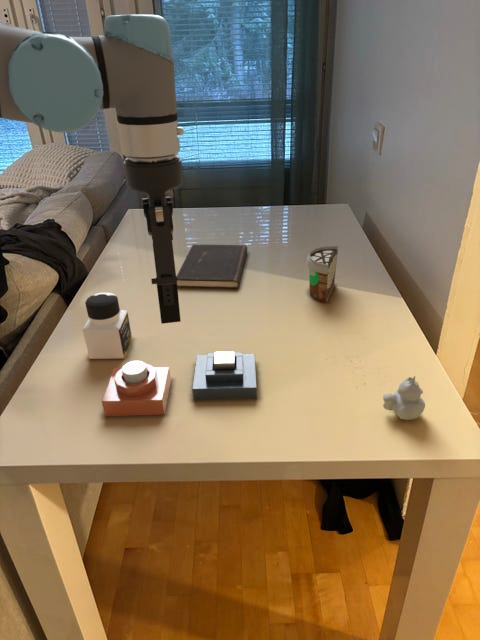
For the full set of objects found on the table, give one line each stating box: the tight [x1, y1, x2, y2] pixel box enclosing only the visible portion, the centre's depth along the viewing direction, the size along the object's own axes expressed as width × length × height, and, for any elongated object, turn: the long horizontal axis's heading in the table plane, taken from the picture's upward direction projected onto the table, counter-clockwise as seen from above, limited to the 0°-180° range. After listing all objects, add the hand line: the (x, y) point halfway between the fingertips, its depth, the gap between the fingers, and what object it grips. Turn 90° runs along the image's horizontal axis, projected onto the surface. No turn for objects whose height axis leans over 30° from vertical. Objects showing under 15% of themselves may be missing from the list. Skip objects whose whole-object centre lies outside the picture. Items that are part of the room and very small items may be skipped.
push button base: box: [191, 352, 258, 401], centre depth 84 cm, size 11×10×4 cm
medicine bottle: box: [82, 291, 133, 360], centre depth 92 cm, size 7×7×12 cm
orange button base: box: [101, 362, 172, 417], centre depth 80 cm, size 10×9×5 cm
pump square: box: [214, 350, 236, 371], centre depth 83 cm, size 4×4×2 cm
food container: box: [305, 245, 339, 303], centre depth 111 cm, size 12×6×10 cm, turn 159°
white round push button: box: [121, 359, 148, 384], centre depth 79 cm, size 4×4×2 cm
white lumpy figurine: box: [382, 375, 426, 421], centre depth 74 cm, size 5×7×8 cm
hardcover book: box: [176, 244, 248, 290], centre depth 126 cm, size 16×23×2 cm
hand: (167, 299), depth 72 cm, fingers open, 13 cm apart
